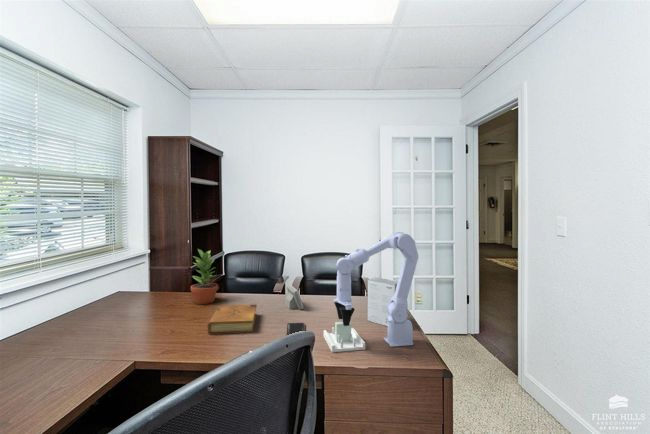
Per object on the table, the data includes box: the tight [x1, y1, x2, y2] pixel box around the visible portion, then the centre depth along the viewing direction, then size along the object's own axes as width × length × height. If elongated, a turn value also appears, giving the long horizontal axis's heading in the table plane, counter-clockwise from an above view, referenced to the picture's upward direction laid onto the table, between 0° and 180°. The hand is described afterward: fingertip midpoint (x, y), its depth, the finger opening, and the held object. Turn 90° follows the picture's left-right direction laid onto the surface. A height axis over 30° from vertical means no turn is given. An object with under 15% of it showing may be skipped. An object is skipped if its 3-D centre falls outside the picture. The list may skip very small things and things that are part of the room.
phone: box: [286, 322, 306, 336], centre depth 144 cm, size 8×1×15 cm
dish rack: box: [323, 326, 366, 353], centre depth 132 cm, size 13×16×4 cm
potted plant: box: [190, 248, 219, 305], centre depth 186 cm, size 15×15×30 cm
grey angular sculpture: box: [284, 284, 305, 311], centre depth 178 cm, size 16×9×11 cm, turn 11°
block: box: [334, 321, 352, 342], centre depth 132 cm, size 6×2×7 cm, turn 102°
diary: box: [207, 303, 258, 335], centre depth 152 cm, size 23×19×6 cm
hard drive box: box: [366, 276, 398, 327], centre depth 154 cm, size 16×8×20 cm, turn 47°
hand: (343, 322), depth 132 cm, fingers open, 7 cm apart
